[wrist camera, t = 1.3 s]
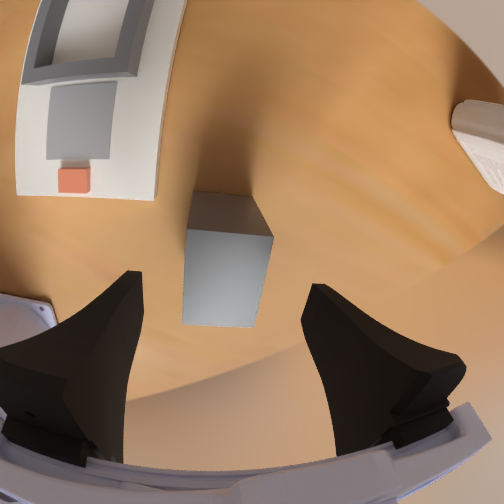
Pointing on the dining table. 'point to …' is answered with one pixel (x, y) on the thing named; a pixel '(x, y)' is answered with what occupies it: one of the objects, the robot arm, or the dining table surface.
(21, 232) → the dining table surface
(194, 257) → the gray block
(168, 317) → the dining table surface
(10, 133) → the dining table surface
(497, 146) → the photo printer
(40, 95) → the white flat rectangular base
